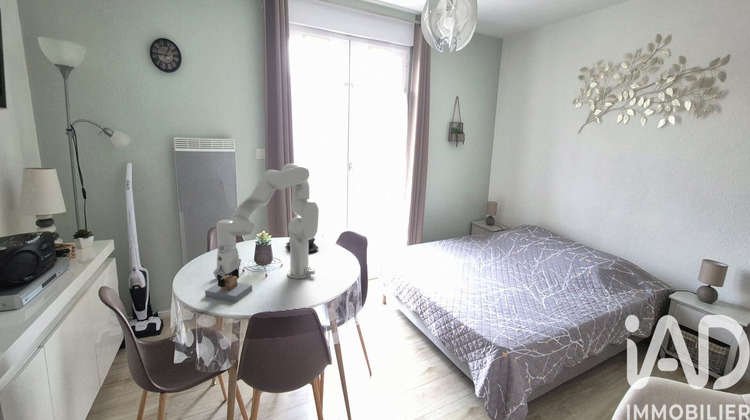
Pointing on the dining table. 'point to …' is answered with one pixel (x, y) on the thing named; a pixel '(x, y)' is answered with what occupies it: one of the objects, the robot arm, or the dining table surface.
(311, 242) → the casserole
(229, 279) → the walnut cube
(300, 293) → the dining table surface
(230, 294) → the block
